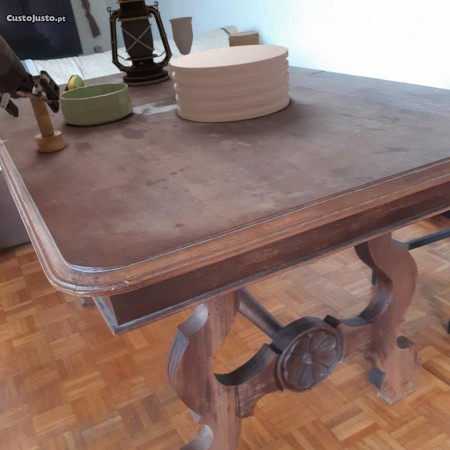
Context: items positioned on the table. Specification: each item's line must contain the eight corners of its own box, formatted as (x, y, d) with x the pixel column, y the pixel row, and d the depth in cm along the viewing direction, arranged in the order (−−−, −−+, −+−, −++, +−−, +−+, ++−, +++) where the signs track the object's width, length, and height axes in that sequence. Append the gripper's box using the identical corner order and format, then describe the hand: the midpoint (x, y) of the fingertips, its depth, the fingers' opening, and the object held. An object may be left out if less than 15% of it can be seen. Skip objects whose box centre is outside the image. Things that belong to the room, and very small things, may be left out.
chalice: (177, 86, 147) (167, 19, 136) (199, 82, 147) (190, 16, 137) (180, 90, 141) (169, 21, 130) (202, 87, 141) (194, 17, 131)
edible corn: (86, 87, 161) (83, 72, 159) (80, 99, 145) (76, 83, 142) (71, 89, 161) (67, 74, 158) (64, 101, 145) (59, 86, 142)
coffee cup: (236, 74, 152) (233, 32, 145) (264, 73, 149) (262, 30, 142) (227, 81, 145) (223, 36, 138) (257, 79, 142) (254, 34, 135)
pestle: (37, 154, 102) (19, 100, 95) (41, 146, 106) (24, 94, 100) (63, 150, 102) (47, 96, 96) (66, 142, 106) (51, 90, 100)
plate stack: (200, 94, 133) (194, 49, 127) (299, 90, 125) (298, 41, 118) (159, 123, 112) (150, 70, 105) (275, 121, 103) (273, 63, 97)
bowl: (61, 131, 116) (53, 103, 112) (69, 114, 130) (62, 88, 126) (133, 120, 117) (127, 92, 113) (133, 104, 131) (128, 79, 127)
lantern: (114, 89, 153) (89, -23, 136) (118, 80, 166) (96, -23, 148) (176, 81, 153) (159, -31, 136) (175, 73, 166) (160, -31, 149)
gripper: (31, 34, 82) (70, 91, 98) (-47, 44, 83) (4, 98, 99) (30, 73, 80) (70, 124, 96) (-49, 83, 82) (3, 131, 97)
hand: (36, 111), depth 98 cm, fingers open, 8 cm apart
